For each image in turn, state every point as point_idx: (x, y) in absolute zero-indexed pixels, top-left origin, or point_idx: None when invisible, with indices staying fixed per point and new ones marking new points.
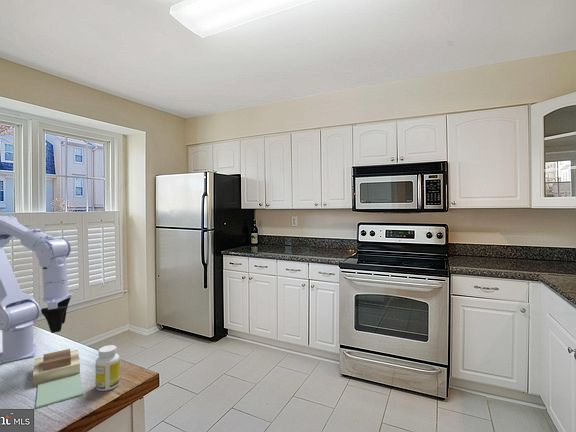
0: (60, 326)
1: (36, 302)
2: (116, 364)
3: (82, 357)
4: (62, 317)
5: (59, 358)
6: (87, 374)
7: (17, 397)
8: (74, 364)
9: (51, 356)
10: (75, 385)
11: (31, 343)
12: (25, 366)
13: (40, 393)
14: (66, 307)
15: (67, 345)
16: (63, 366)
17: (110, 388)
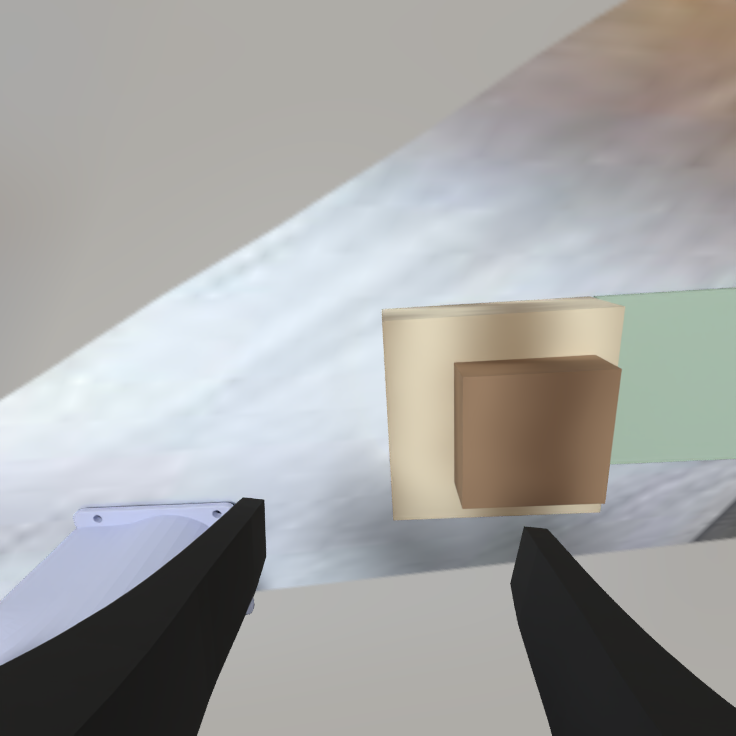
0: (581, 569)
1: None
2: None
3: (362, 285)
4: (668, 663)
5: (592, 429)
6: (613, 259)
7: (630, 516)
8: (611, 335)
9: (526, 470)
10: (725, 316)
11: (170, 556)
12: (332, 521)
13: (684, 450)
14: (162, 642)
15: (138, 366)
16: None
17: None
